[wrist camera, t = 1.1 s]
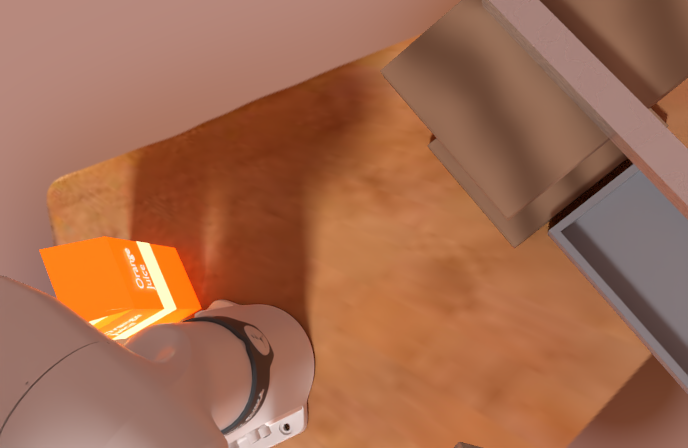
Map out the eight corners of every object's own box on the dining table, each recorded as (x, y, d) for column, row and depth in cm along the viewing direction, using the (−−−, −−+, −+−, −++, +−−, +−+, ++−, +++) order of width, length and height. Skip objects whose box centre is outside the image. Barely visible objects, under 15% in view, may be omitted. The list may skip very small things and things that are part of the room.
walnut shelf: (514, 248, 70) (507, 218, 45) (429, 148, 74) (380, 70, 49) (665, 129, 67) (745, 28, 43) (568, 32, 71) (590, -113, 47)
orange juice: (153, 336, 81) (38, 346, 62) (128, 275, 83) (9, 266, 64) (203, 308, 80) (101, 309, 61) (176, 246, 82) (69, 228, 63)
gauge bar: (699, 231, 42) (708, 227, 40) (482, 6, 48) (480, -9, 45) (729, 208, 42) (741, 203, 39) (508, -16, 47) (507, -32, 45)
